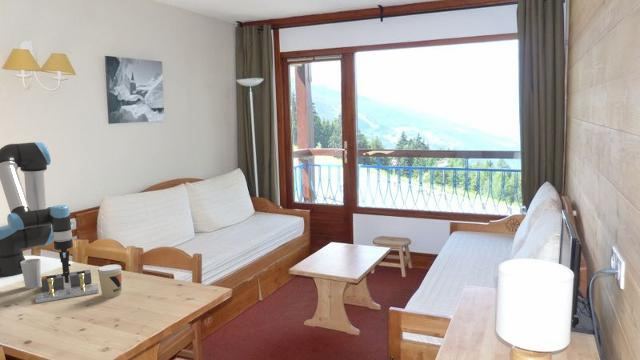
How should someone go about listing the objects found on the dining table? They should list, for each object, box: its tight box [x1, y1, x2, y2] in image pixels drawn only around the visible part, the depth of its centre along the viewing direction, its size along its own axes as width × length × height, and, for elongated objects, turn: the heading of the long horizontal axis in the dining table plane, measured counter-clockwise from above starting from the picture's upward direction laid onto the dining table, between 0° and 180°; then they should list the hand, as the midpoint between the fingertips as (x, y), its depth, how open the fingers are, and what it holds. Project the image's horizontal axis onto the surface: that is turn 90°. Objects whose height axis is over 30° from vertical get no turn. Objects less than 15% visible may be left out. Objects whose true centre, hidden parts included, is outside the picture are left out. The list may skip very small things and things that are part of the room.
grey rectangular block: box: [41, 269, 92, 292], centre depth 232 cm, size 20×6×6 cm, turn 117°
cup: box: [20, 258, 42, 290], centre depth 232 cm, size 8×8×12 cm
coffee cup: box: [97, 264, 123, 298], centre depth 218 cm, size 9×9×12 cm
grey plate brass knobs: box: [35, 273, 99, 304], centre depth 219 cm, size 24×8×8 cm, turn 117°
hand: (67, 285), depth 232 cm, fingers open, 13 cm apart
